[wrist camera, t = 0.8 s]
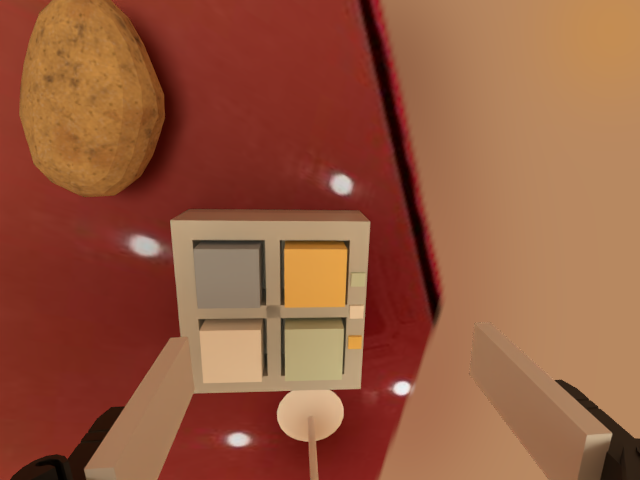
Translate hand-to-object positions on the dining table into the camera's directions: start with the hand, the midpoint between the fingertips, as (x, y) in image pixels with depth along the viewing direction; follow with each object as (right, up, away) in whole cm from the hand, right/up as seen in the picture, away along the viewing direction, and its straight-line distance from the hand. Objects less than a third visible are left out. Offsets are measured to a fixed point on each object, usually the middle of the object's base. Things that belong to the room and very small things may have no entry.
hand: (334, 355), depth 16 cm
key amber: (-1, +3, +15) cm, 15 cm away
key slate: (-8, +3, +14) cm, 17 cm away
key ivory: (-8, -4, +16) cm, 19 cm away
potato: (-18, +17, +14) cm, 28 cm away
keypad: (-5, 0, +19) cm, 20 cm away
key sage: (-1, -4, +17) cm, 17 cm away
